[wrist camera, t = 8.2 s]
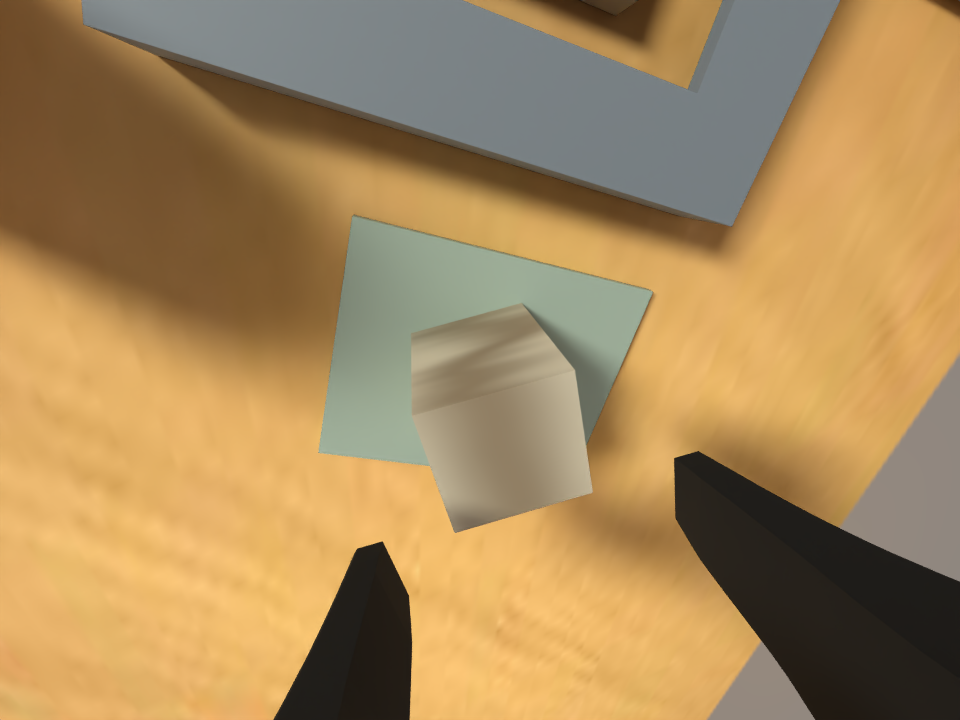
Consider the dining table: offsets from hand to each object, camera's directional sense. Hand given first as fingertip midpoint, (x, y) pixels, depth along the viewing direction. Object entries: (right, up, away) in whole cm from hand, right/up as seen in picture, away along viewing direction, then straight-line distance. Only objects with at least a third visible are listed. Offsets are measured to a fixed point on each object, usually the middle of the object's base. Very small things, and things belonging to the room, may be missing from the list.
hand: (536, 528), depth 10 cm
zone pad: (-1, +4, +8) cm, 9 cm away
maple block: (-1, +4, +7) cm, 8 cm away
